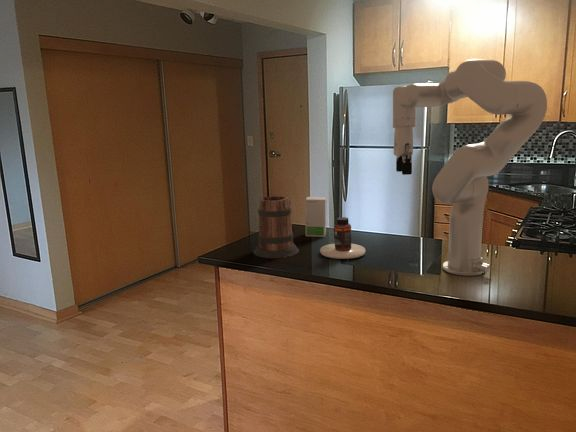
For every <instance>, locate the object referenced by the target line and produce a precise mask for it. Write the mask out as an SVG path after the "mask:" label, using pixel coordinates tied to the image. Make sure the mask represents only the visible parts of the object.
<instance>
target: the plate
mask: <svg viewBox="0 0 576 432" xmlns="http://www.w3.org/2000/svg"><path fill="white" fill-rule="evenodd" d="M351 245H352V246H351V249H350V250H348V251H338V250H336V249H335V242H334V243H329V244H325V245H323V246H321V247H320V249H319V251H320V254H321V255H322V256H324V257H326V258H331V259H337V260H344V259H345V260H350V259H355V258H360V257H362V256H364V255H365V254H366V248H365V247H364V246H362V245H360V244H356V243H351Z"/></svg>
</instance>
